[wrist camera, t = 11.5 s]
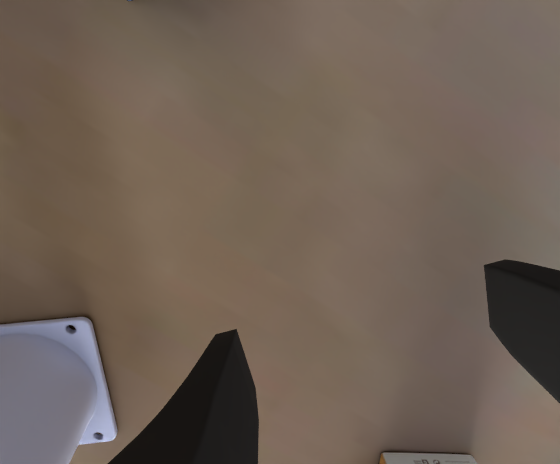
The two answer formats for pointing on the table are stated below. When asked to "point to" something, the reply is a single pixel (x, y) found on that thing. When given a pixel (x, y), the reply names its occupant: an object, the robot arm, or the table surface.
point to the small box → (425, 458)
